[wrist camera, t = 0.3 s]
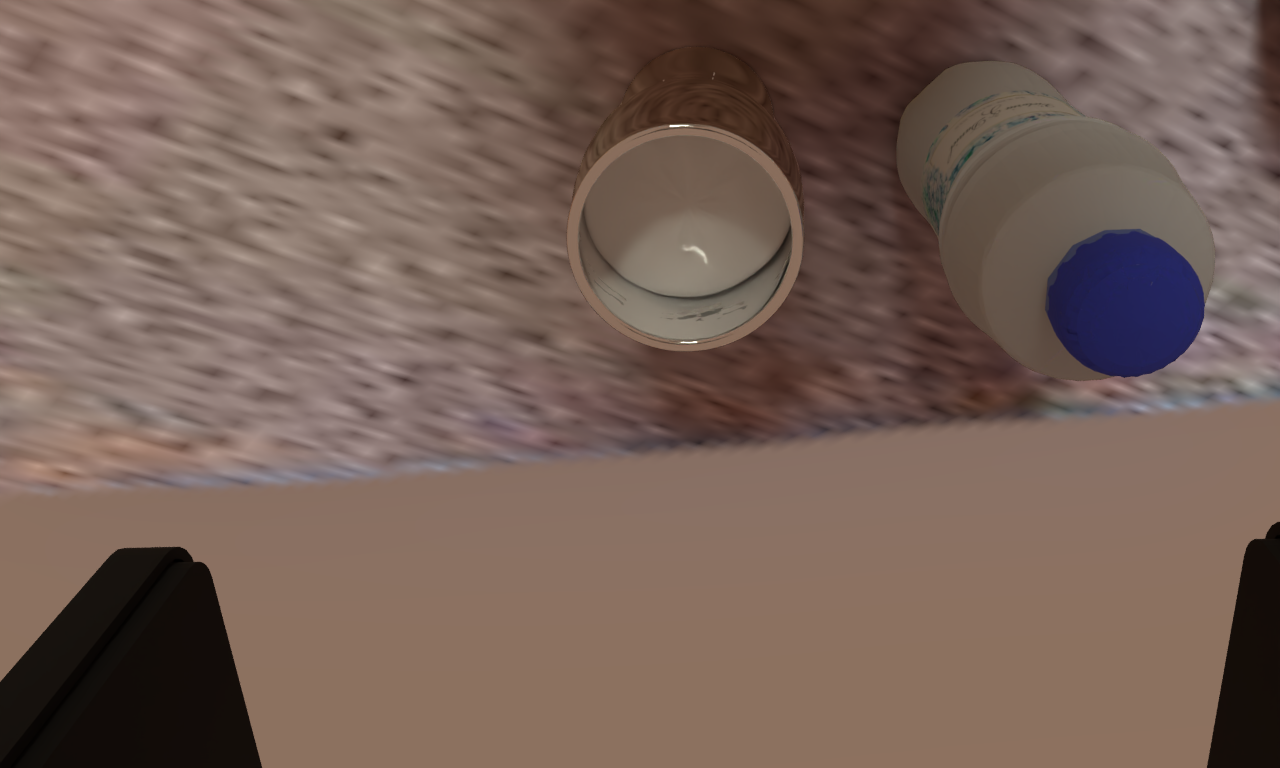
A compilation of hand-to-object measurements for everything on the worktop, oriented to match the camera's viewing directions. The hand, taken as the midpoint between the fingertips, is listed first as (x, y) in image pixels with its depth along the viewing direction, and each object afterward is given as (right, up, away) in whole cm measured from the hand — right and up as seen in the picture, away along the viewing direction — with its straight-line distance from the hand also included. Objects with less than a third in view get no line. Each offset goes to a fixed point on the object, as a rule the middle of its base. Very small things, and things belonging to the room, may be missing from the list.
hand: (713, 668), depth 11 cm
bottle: (+12, +12, +34) cm, 38 cm away
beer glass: (+1, +13, +35) cm, 37 cm away
